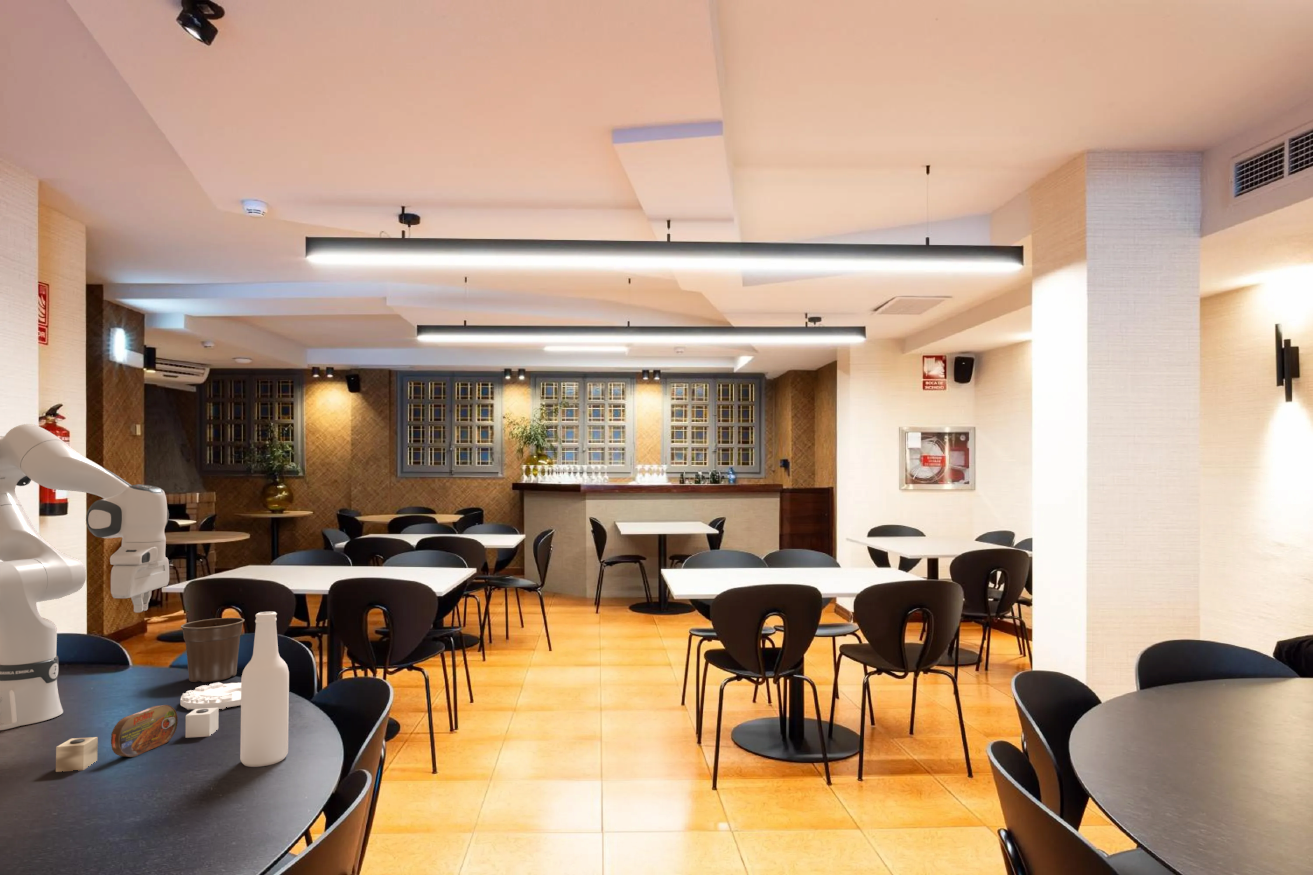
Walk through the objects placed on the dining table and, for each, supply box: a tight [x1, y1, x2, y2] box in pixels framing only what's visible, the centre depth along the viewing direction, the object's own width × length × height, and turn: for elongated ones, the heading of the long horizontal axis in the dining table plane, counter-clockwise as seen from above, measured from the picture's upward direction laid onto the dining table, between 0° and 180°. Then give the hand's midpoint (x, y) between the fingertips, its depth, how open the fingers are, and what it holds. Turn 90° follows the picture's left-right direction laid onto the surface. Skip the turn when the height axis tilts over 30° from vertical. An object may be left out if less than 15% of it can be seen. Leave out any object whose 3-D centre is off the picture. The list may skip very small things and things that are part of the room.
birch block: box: [55, 736, 99, 773], centre depth 157 cm, size 5×5×5 cm
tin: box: [110, 704, 179, 758], centre depth 166 cm, size 15×3×8 cm, turn 168°
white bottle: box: [239, 611, 290, 768], centre depth 160 cm, size 9×9×30 cm
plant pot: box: [180, 617, 245, 683], centre depth 227 cm, size 16×16×16 cm
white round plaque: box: [179, 681, 241, 711], centre depth 203 cm, size 20×20×3 cm
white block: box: [185, 708, 220, 739], centre depth 177 cm, size 5×5×5 cm
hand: (140, 611), depth 184 cm, fingers closed
